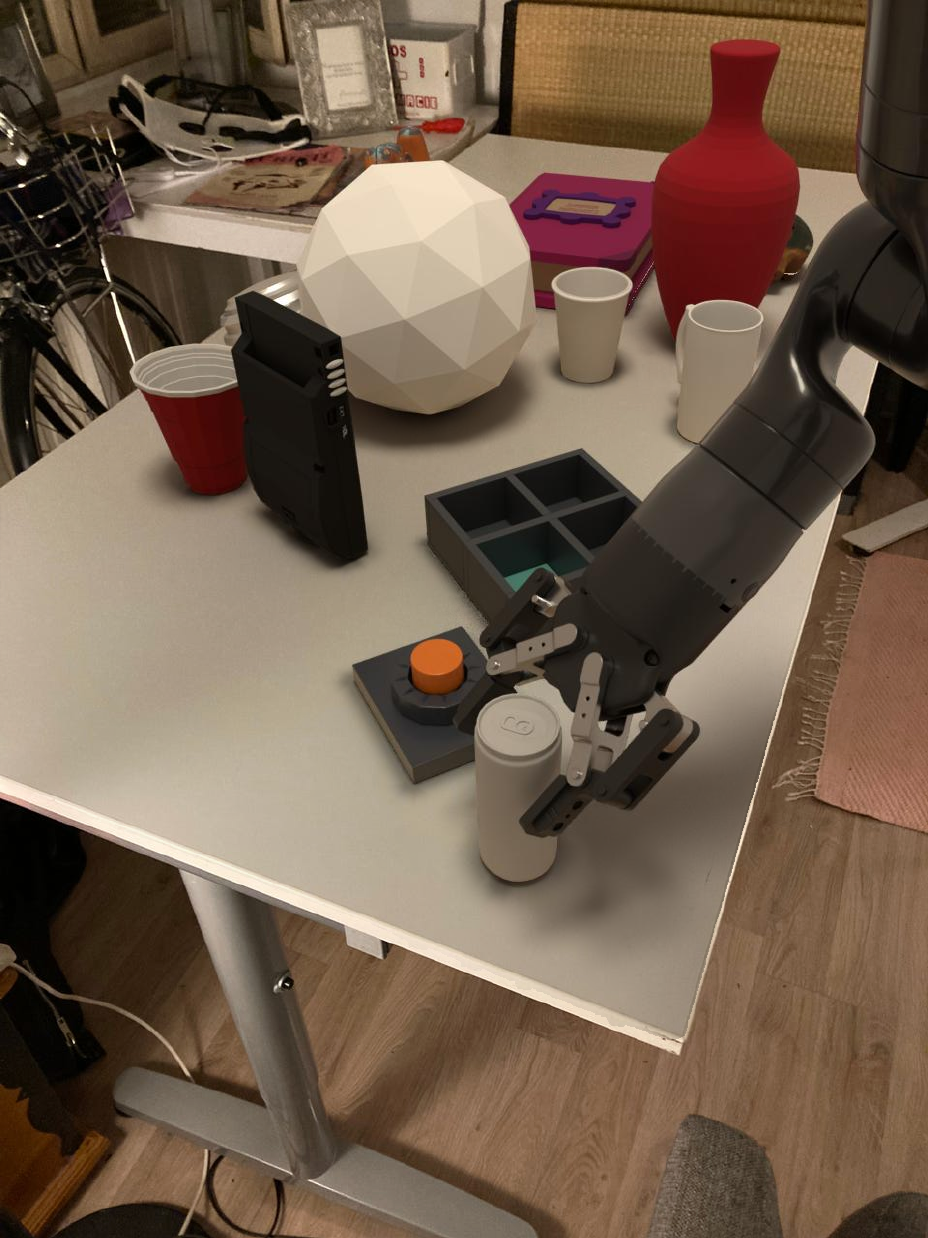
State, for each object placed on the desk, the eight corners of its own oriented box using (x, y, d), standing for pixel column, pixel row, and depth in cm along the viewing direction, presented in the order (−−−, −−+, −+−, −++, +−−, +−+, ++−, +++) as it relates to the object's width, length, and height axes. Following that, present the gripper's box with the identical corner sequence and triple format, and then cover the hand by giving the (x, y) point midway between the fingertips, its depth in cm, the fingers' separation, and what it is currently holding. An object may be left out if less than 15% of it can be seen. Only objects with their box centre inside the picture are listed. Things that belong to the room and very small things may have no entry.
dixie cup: (573, 395, 103) (577, 305, 97) (535, 363, 109) (537, 276, 102) (640, 377, 106) (648, 288, 99) (599, 347, 112) (605, 260, 105)
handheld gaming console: (374, 552, 84) (348, 334, 71) (332, 575, 82) (297, 354, 69) (295, 495, 91) (258, 287, 78) (254, 515, 89) (209, 304, 76)
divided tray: (678, 589, 79) (685, 539, 76) (511, 651, 74) (511, 600, 71) (579, 495, 90) (582, 447, 86) (427, 544, 85) (423, 495, 81)
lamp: (533, 427, 87) (440, 142, 77) (232, 491, 104) (121, 263, 93) (594, 343, 105) (526, 102, 94) (329, 409, 121) (245, 209, 111)
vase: (797, 345, 110) (860, 43, 90) (710, 387, 104) (757, 72, 84) (698, 304, 119) (735, 21, 99) (611, 341, 113) (633, 46, 93)
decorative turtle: (799, 250, 131) (815, 190, 125) (809, 305, 120) (827, 242, 115) (725, 245, 132) (738, 185, 126) (729, 299, 121) (743, 236, 116)
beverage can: (539, 898, 58) (543, 769, 50) (466, 870, 60) (459, 741, 52) (567, 836, 61) (575, 706, 53) (497, 812, 63) (495, 681, 55)
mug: (757, 437, 96) (779, 321, 88) (699, 454, 94) (717, 337, 86) (698, 393, 103) (713, 282, 95) (643, 407, 101) (654, 295, 93)
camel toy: (407, 223, 143) (398, 93, 132) (491, 234, 139) (489, 100, 127) (324, 290, 126) (305, 147, 115) (416, 304, 122) (406, 157, 110)
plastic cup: (298, 465, 95) (279, 351, 87) (221, 522, 88) (193, 404, 80) (216, 437, 99) (190, 325, 91) (137, 489, 93) (102, 373, 85)
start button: (472, 685, 67) (471, 663, 66) (425, 702, 66) (423, 681, 65) (450, 653, 70) (448, 632, 69) (404, 669, 69) (402, 648, 67)
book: (462, 297, 123) (460, 236, 118) (533, 220, 142) (534, 165, 137) (624, 319, 117) (629, 256, 112) (676, 236, 136) (682, 179, 131)
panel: (532, 736, 68) (532, 702, 65) (414, 784, 65) (410, 749, 63) (462, 642, 75) (461, 607, 73) (354, 680, 72) (349, 646, 70)
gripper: (577, 460, 53) (399, 681, 57) (744, 613, 43) (515, 866, 47) (650, 513, 58) (481, 712, 62) (813, 660, 48) (601, 884, 53)
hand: (496, 778), depth 55 cm, fingers open, 7 cm apart
